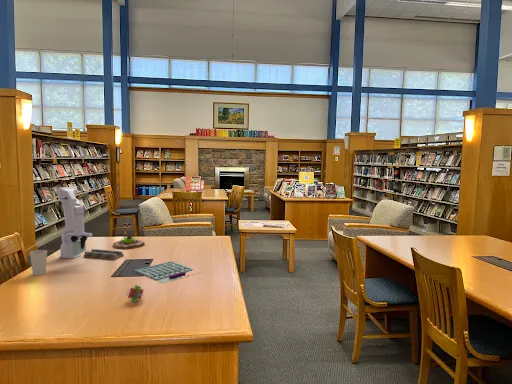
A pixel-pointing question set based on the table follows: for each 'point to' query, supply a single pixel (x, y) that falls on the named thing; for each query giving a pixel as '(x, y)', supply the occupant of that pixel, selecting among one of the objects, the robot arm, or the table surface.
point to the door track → (103, 254)
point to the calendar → (165, 271)
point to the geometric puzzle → (135, 293)
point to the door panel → (78, 247)
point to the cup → (38, 262)
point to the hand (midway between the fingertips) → (79, 248)
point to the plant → (128, 242)
